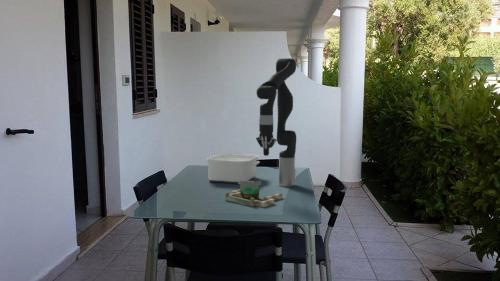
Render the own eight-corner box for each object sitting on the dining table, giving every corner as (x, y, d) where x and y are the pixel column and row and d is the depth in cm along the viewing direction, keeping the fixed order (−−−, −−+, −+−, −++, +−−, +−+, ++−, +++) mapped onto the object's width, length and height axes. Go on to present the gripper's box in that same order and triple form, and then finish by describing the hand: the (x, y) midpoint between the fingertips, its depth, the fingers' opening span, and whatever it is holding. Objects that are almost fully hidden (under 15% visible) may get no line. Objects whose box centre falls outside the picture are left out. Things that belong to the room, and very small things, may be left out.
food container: (238, 200, 237) (238, 182, 236) (238, 198, 243) (238, 179, 242) (262, 200, 238) (262, 182, 236) (261, 198, 244) (261, 179, 243)
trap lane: (249, 191, 259) (249, 184, 259) (289, 199, 241) (289, 192, 241) (218, 198, 241) (218, 191, 241) (259, 208, 223) (259, 200, 222)
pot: (199, 182, 282) (198, 159, 280) (216, 174, 309) (216, 152, 307) (251, 186, 272) (251, 162, 270) (264, 177, 299) (264, 155, 297)
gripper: (280, 123, 243) (280, 155, 245) (261, 122, 252) (261, 153, 254) (271, 124, 237) (271, 157, 239) (252, 123, 246) (252, 155, 248)
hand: (266, 155), depth 247 cm, fingers closed
